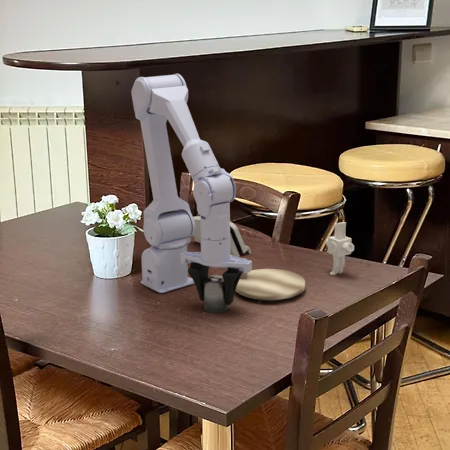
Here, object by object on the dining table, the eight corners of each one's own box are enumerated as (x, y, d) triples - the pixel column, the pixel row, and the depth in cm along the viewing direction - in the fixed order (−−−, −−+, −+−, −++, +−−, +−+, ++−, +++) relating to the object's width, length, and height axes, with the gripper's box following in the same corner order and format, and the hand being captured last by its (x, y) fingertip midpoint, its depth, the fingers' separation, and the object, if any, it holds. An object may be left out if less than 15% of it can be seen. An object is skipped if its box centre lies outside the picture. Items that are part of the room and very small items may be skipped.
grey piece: (252, 253, 185) (241, 218, 180) (237, 264, 182) (225, 228, 178) (211, 236, 197) (199, 203, 193) (196, 246, 195) (184, 213, 190)
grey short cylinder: (214, 315, 151) (213, 283, 149) (199, 307, 154) (198, 276, 152) (234, 308, 154) (234, 277, 152) (218, 300, 157) (218, 270, 155)
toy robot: (344, 281, 167) (345, 227, 163) (320, 270, 173) (321, 219, 169) (357, 277, 169) (359, 224, 165) (333, 267, 175) (335, 216, 171)
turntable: (290, 304, 153) (291, 280, 151) (221, 293, 159) (221, 270, 157) (314, 278, 166) (315, 256, 164) (249, 269, 172) (249, 248, 170)
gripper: (257, 234, 150) (258, 299, 154) (191, 226, 156) (192, 288, 160) (243, 245, 144) (244, 312, 148) (174, 236, 150) (176, 301, 154)
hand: (216, 301), depth 154 cm, fingers closed on grey short cylinder, 5 cm apart
